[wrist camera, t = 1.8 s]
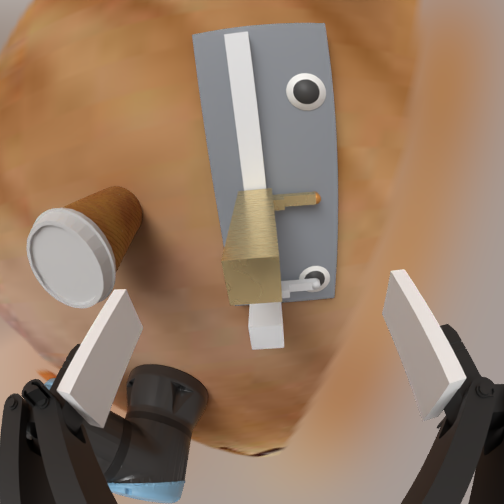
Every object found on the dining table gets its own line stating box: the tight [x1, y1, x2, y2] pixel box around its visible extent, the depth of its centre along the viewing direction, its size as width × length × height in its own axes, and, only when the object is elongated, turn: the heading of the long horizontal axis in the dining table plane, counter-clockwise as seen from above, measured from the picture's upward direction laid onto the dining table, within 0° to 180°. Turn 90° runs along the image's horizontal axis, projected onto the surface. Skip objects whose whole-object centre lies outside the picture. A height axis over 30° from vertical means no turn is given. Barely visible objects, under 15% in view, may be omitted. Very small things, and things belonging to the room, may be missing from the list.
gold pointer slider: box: [221, 188, 321, 305], centre depth 21 cm, size 3×8×13 cm, turn 96°
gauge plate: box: [192, 23, 338, 350], centre depth 23 cm, size 30×12×10 cm, turn 6°
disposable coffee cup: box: [27, 186, 142, 308], centre depth 25 cm, size 10×10×12 cm
